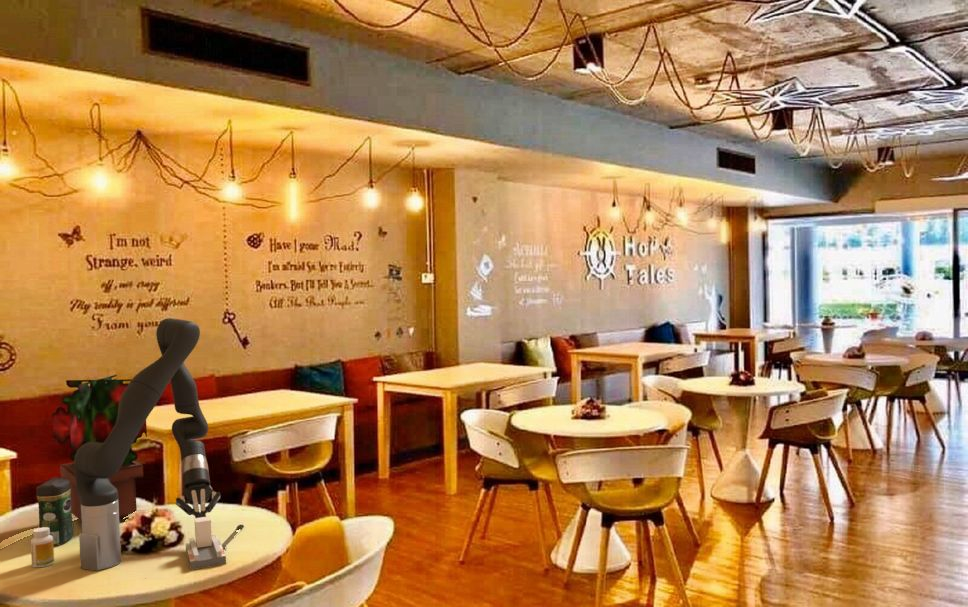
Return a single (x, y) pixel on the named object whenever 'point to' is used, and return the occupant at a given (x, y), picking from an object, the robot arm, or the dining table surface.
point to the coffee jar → (56, 509)
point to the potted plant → (96, 435)
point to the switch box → (205, 554)
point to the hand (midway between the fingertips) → (201, 525)
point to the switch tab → (203, 532)
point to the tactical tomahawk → (231, 536)
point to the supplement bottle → (42, 548)
